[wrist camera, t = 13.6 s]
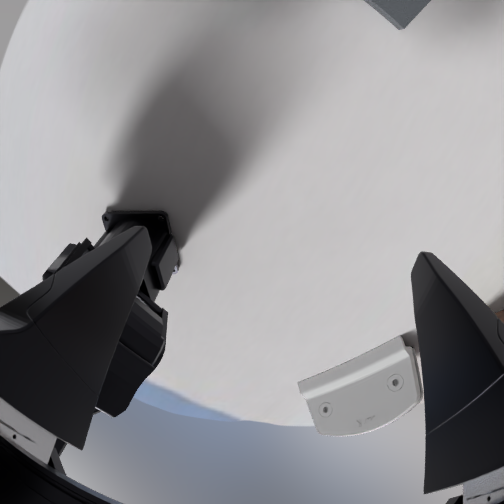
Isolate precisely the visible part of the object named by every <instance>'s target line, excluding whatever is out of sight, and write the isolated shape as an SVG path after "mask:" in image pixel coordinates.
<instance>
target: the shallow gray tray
mask: <svg viewBox="0 0 504 504" xmlns="http://www.w3.org/2000/svg"><path fill="white" fill-rule="evenodd" d="M364 1H365V2H367V3H368V4H369V5H371V6H372V7H373V8H374V9H375V10H377V11H378V12H379V13H380V14H382V15H383V16H384V17H385V18H386V19H387V20H389V21H390V22H391V23H392V24H393V25H394V26H395V27H396V28H397V29H399V30H400V29H405V27H406V26H407V25H408V24H409V23H410V22H411V21H412V20H413V19H414V18H415V17H416V16H417V15H418V13H419V12H420V11H421V10H422V9H423V8H424V7H425V6H426V5H427V4H428V3H429V2H430V1H431V0H364Z"/></svg>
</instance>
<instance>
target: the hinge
mask: <svg viewBox="0 0 504 504" xmlns="http://www.w3.org/2000/svg"><path fill="white" fill-rule="evenodd" d="M298 386H299V391H300V394H301V395H302V396H303V397H304V399H305V400H306V402H307V405H308V407H309V410H310V413H311V416H312V419H313V421H314V424H315V427H316V430H317V432H318V433H319V434H321V435H327V436H353V435H358V434H364V433H367V432H370V431H374V430H376V429H379V428H381V427H384V426H386V425H388V424H390V423H392V422H394V421H396V420H398V419H399V418H401V417H402V416H403V415H405V414H406V413H408V412H409V411H410V410H412V408H414V407H415V406H416V405H417V404H418V403H420V401H421V400H422V398H423V389H422V383H421V378H420V373H419V368H418V363H417V358H416V353H415V349H414V348H412V347H405V344H404V341H403V339H402V336H400V335H399V336H398V337H396V338H394V339H392V340H390V341H388V342H386V343H384V344H382V345H381V346H379V347H377V348H375V349H373V350H371V351H369V352H367V353H364V354H362V355H360V356H358V357H356V358H354V359H352V360H350V361H348V362H345V363H343V364H341V365H339V366H336V367H334V368H332V369H330V370H327V371H325V372H323V373H320V374H318V375H315V376H313V377H311V378H308V379H306V380H303V381H300V382H298Z"/></svg>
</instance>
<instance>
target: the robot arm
mask: <svg viewBox="0 0 504 504" xmlns="http://www.w3.org/2000/svg"><path fill="white" fill-rule="evenodd" d="M160 216H162V217H163V218H164V219H162V218H160ZM107 217H108V218H109V219H108V218H107ZM102 220H103V223H104V227H105V230H106V232H105V233H104V234H103V235H102V237H101V238H100V239H99V240H98V242H97V243H96V244H95V246H93V245H92V244H91V242H90V241H89V240H88V239H87V238H86V239H85V240H84V241H83V242H82V243H80V242H79V243H78V244H77V245H76V244H71V243H70V244H69V245H68V246H67V247H66V248H65V249H64V251H63V252H62V253H61V254H60V255H59V257H58V258H57V259H56V260H55V261H54V262H53V263H52V265H51V266H50V267H49V268H48V269H47V270H46V272H45V273H44V274H43V276H42V277H43V281H42V282H41V283H39V284H38V285H36V286H35V287H33V288H31V289H30V290H28V291H26V292H25V293H23V294H21V295H20V296H18V297H16V298H15V299H13V300H12V301H10V302H8V303H6V304H5V305H3V306H2V307H0V504H123V503H120V502H118V501H116V500H114V499H111V498H109V497H107V496H105V495H103V494H100V493H98V492H96V491H94V490H92V489H90V488H88V487H86V486H84V485H82V484H80V483H78V482H76V481H75V480H73V479H71V478H69V477H67V476H66V474H65V471H64V469H63V466H62V464H61V461H60V458H59V456H60V455H61V453H62V452H63V450H64V448H65V446H66V445H67V443H68V444H70V445H72V446H74V447H76V448H78V449H80V450H83V447H84V444H85V441H86V437H87V433H88V430H89V427H90V423H91V420H92V417H93V415H94V414H96V413H99V412H103V413H105V414H107V415H109V416H111V417H116V416H118V415H119V414H121V413H122V412H124V411H125V410H126V409H127V407H128V405H129V404H130V402H131V400H132V398H133V396H134V394H135V393H136V391H137V389H138V388H139V386H140V385H141V384H142V382H143V381H144V380H145V379H146V378H147V377H148V376H149V375H150V374H151V373H152V372H153V371H154V370H155V368H156V367H157V366H158V364H159V362H160V361H161V359H162V357H163V354H164V351H165V345H166V331H167V318H168V312H167V311H166V310H165V309H163V308H160V307H159V306H158V305H157V304H156V303H155V299H156V297H157V295H158V293H159V290H164V289H165V288H166V286H167V284H168V282H169V280H170V277H171V275H172V274H176V273H177V272H178V270H179V266H178V259H179V257H178V253H177V248H176V243H175V238H174V236H173V235H172V234H171V229H170V224H169V219H168V215H167V213H166V212H164V211H120V212H105V213H104V214H103V215H102ZM411 282H412V292H413V303H414V315H415V323H416V329H417V335H418V342H419V350H420V357H421V366H422V376H423V387H424V401H425V423H426V451H425V453H426V454H425V479H424V494H428V493H432V492H436V491H440V490H444V489H448V488H451V487H455V486H458V485H462V484H463V495H460V496H457V497H453V498H450V499H449V500H448V501H447V503H446V504H504V323H503V322H502V321H501V320H500V319H499V318H497V316H496V315H495V313H494V312H493V311H492V310H491V309H490V308H489V307H488V306H487V305H486V304H485V303H484V302H483V301H482V300H481V299H480V298H479V297H478V296H477V295H476V294H475V293H474V292H473V291H472V290H471V289H470V288H469V287H468V286H467V285H466V284H465V283H464V282H463V281H462V280H461V279H460V278H459V277H458V276H457V275H456V274H455V273H454V272H452V271H451V270H450V269H449V268H448V267H447V266H446V265H445V264H444V263H443V262H442V261H441V260H439V259H438V258H437V257H436V256H435V255H434V254H433V253H431V252H420V253H419V255H418V257H417V259H416V262H415V264H414V267H413V269H412V272H411Z"/></svg>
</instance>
